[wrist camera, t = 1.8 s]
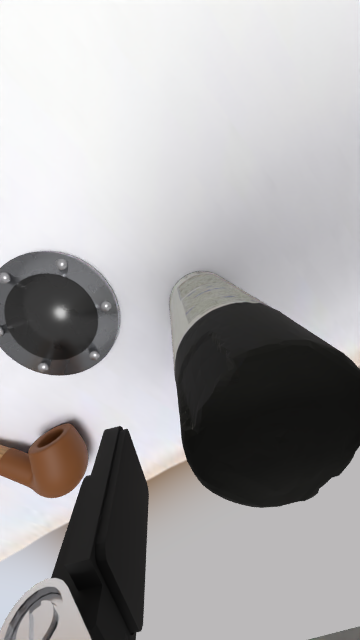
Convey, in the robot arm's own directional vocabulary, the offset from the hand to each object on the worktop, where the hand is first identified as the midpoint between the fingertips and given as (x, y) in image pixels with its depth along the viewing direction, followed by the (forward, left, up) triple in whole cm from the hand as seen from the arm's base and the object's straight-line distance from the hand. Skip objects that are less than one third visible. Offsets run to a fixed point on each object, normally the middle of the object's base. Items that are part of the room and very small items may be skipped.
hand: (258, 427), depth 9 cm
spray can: (0, 0, -19) cm, 19 cm away
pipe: (+25, +14, -20) cm, 35 cm away
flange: (+15, -2, -19) cm, 24 cm away
